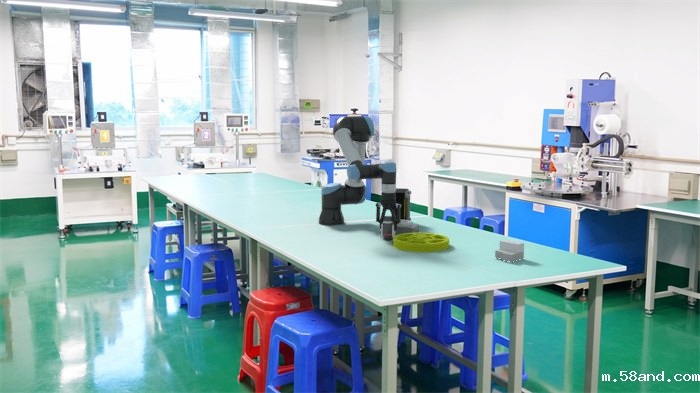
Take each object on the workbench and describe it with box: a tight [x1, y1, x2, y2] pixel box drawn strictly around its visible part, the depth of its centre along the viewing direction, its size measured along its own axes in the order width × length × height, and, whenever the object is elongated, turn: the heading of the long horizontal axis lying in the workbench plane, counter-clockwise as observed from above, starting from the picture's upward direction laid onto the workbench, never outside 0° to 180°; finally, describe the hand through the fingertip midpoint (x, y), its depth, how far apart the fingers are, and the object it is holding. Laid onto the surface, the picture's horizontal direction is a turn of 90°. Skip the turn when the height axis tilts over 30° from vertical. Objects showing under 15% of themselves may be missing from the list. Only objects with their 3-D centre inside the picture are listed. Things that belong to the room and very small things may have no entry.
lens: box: [382, 215, 393, 242], centre depth 327 cm, size 5×5×12 cm
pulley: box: [392, 232, 450, 253], centre depth 313 cm, size 28×28×5 cm
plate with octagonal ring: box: [393, 220, 420, 236], centre depth 341 cm, size 16×11×7 cm
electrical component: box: [394, 187, 412, 222], centre depth 368 cm, size 18×10×20 cm, turn 168°
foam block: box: [494, 239, 525, 263], centre depth 285 cm, size 10×10×8 cm
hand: (388, 236), depth 327 cm, fingers closed on lens, 5 cm apart
